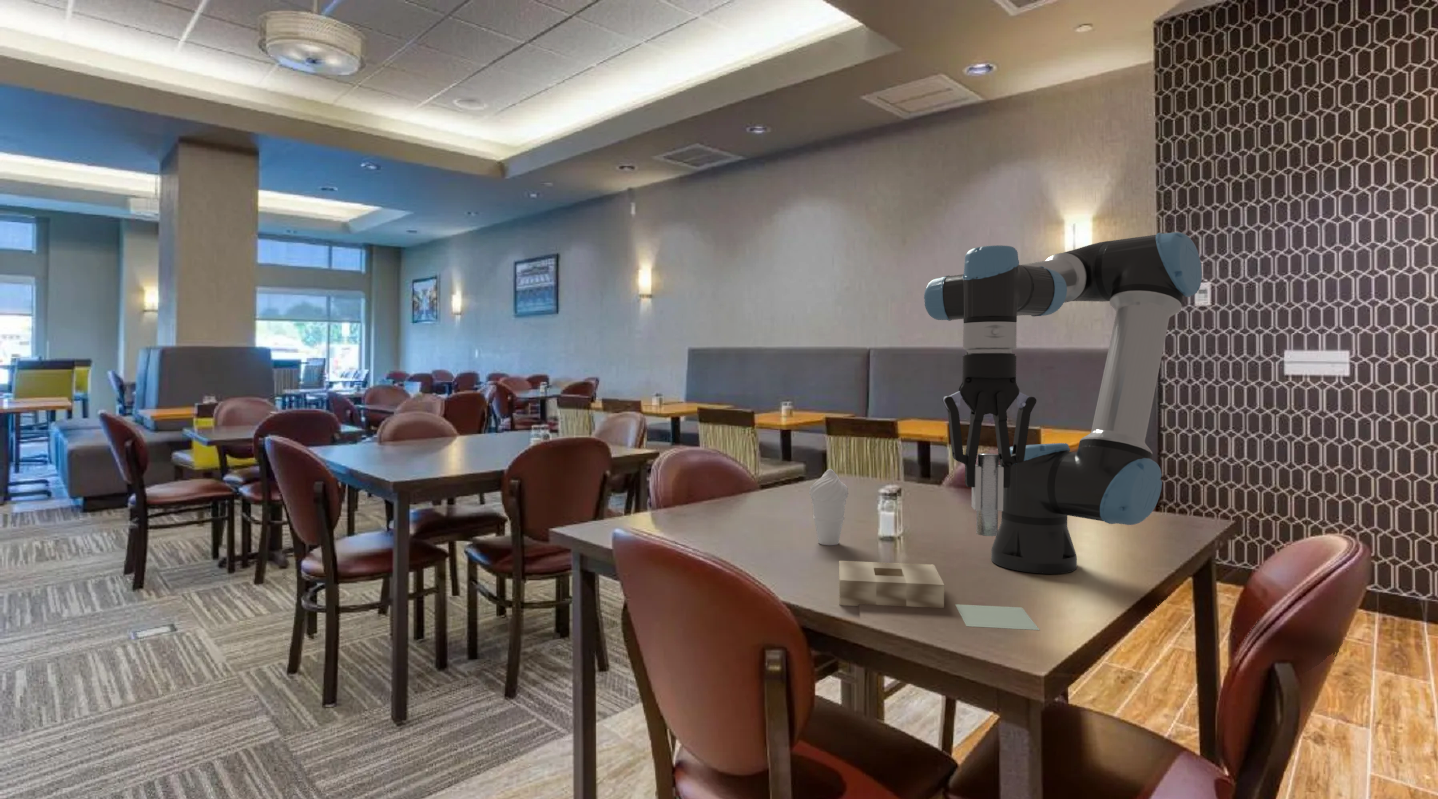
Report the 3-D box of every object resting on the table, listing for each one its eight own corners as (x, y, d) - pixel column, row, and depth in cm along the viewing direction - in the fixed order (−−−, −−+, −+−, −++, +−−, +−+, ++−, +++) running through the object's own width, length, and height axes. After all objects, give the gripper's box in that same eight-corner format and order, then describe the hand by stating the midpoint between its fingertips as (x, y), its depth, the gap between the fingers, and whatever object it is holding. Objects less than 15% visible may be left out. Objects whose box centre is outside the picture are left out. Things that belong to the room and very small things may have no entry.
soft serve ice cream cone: (838, 549, 153) (838, 472, 153) (802, 544, 158) (802, 469, 157) (854, 541, 160) (854, 468, 160) (819, 536, 165) (819, 465, 164)
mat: (1021, 610, 115) (1021, 607, 115) (1039, 632, 105) (1039, 629, 105) (955, 606, 116) (955, 604, 116) (966, 628, 107) (966, 626, 107)
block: (933, 587, 127) (933, 564, 126) (943, 610, 115) (944, 584, 115) (838, 583, 129) (839, 560, 129) (839, 605, 117) (839, 580, 117)
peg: (994, 532, 112) (996, 453, 112) (999, 536, 109) (1001, 455, 109) (974, 531, 113) (975, 453, 112) (978, 535, 110) (980, 455, 109)
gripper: (939, 351, 107) (937, 512, 108) (1052, 351, 105) (1049, 515, 106) (931, 352, 115) (929, 503, 116) (1036, 352, 113) (1033, 505, 114)
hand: (987, 508), depth 111 cm, fingers closed on peg, 2 cm apart
